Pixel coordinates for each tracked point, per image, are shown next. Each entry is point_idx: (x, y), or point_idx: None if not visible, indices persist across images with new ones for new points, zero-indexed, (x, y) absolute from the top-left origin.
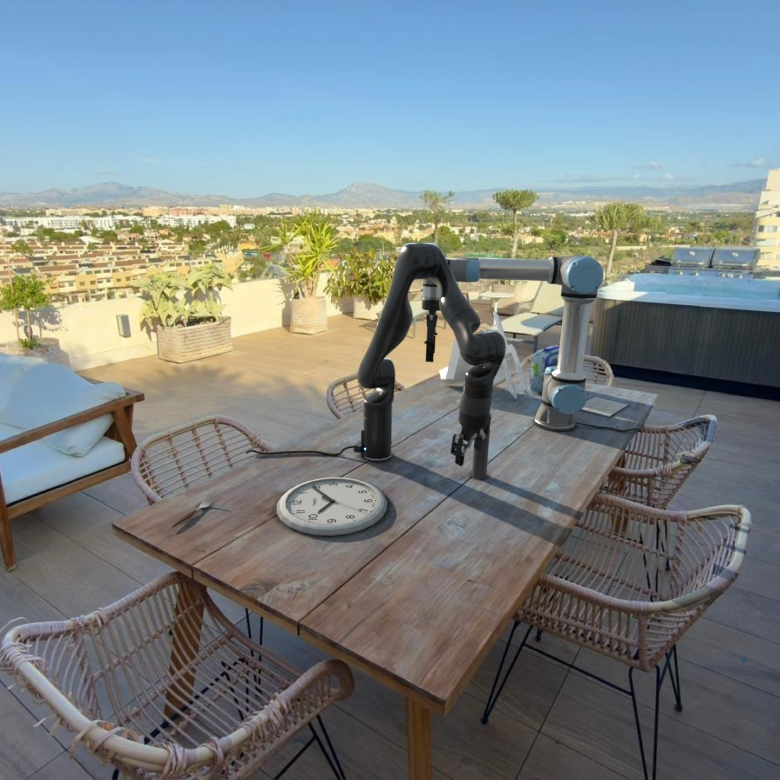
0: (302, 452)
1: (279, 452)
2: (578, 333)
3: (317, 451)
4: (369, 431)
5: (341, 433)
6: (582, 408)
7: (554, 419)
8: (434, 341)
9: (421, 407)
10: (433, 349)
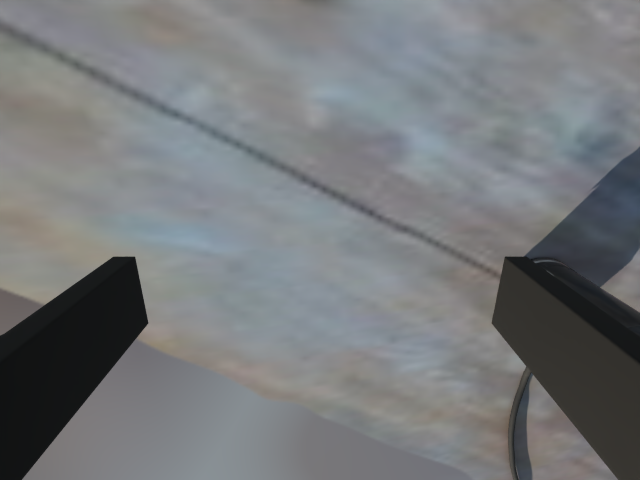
0: (513, 440)
1: (517, 476)
2: None
3: (515, 417)
4: None
5: (384, 389)
6: None
7: None
8: (41, 345)
9: (105, 202)
10: (637, 340)
